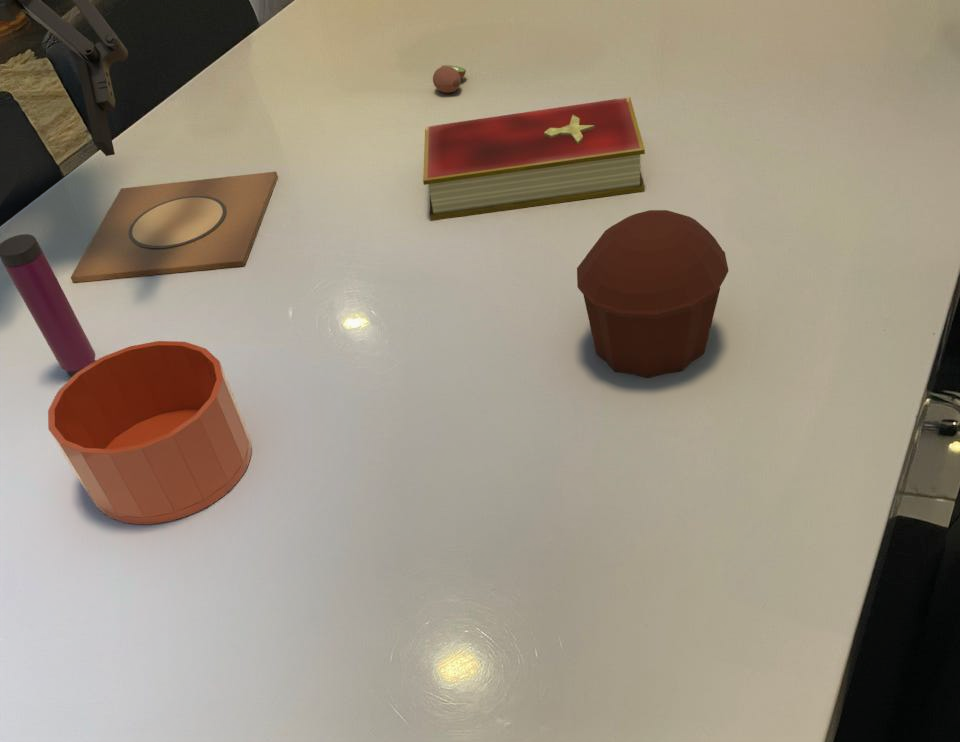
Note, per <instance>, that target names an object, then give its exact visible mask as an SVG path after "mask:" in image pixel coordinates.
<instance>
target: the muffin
mask: <svg viewBox="0 0 960 742" xmlns="http://www.w3.org/2000/svg"><path fill="white" fill-rule="evenodd" d="M728 273H729V266H728V261H727V255H726V252H725V250H723V248H722V247H721V245H720V244H719V242H718V241H717V239H716V238H715V236H713V235H712V233H711V232H710V231H709V230H708V229H707V228H706V227H704V226H703V225H702V224H701V223H700V222H698V220H697V219H695V218H693V217H691V216H689V215H685V214H682V213H678V212H675V211H671V210H667V209H648V210H646V211H641V212H638V213H634V214H630V215H629V216H627V217H625V218H623V219H622V220H620V221H618V222H616V223H615V224H613V225H612V226H609V227H608V228H607V229H606V230H604V232H603V233H602V234H601V235H600V236H599V238H598V240H597V241H596V242H595V244H594V245H593V246H592V247H591V249H590V250H589V251H588V253H587V254H586V256H585V257H584V258H583V259H582V260H581V262H580V263H579V265H577V267H576V280H577V281H576V282H577V283H576V284H577V288H578V290H579V291H580V292H581V293H582V296H583V299H584V300H583V301H584V304H585V308H586V313H587V317H588V322H589V327H590V330H591V331H590V332H591V336H592V340H593V344H594V345H593V346H594V349H595V353H596V355H597V356H598V357H599V358H601V359H602V360H603V361H604V362H606V363H607V364H608V365H609V367H610V368H611V369H612V370H613V371H614V372H617V373H624V374H631V375H635V376H639V377H642V378H646V379H647V378H652V377H656V376H660V375H665V374H669V373H678V372H683V371H684V370H685V369H686V368H687V367H688V366H689V365H690V364H691V363H692V362H693V361H695V360H697V359H698V358H700V357H701V356H704V354H705V352H706V347H707V345H708V340H709V336H710V332H711V328H712V325H713V319H714V316H715V311H716V308H717V304H718V299H719V295H720V291H721V286H722V285H723V283H724V281H725V279H726V277H727V275H728Z"/></svg>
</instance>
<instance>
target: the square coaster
mask: <svg viewBox="0 0 960 742" xmlns="http://www.w3.org/2000/svg"><path fill="white" fill-rule="evenodd" d="M278 177H279V175H278V172H277V171H268V172H259V173H249V174H240V175H231V176H223V177H214V178H213V177H211V178H203V179H195V180H186V181H177V182H176V181H175V182H168V183H161V184H160V183H159V184H150V185H149V184H148V185H139V186H130V187H121V188H120V189H119V191H118V193H117V194H116V197H115V198H114V200H113V202H112V203H111V206H110V207H109V208H108V211H106V214H105V216H104V218H103V219H102V221H101V223H100V225H99V226H98V228H97V230H96V232H95V234H93V237H92V239H91V240H90V242H89V244H88V246H87V247H86V249H85V250H84V253H83V255H82V256H81V258H80V260H79V262H78V264H77V265H76V267H75V268H74V271H73V272H72V274H71V276H70V280H71V281H72V283H84V282H93V281H94V282H95V281H102V280H103V281H104V280H115V279H116V280H117V279H125V278H135V277H136V278H137V277H144V276H145V277H146V276H147V277H148V276H155V275H156V276H157V275H167V274H176V273H177V274H178V273H189V272H197V271H208V270H217V269H220V270H221V269H229V268H238V267H239V268H240V267H245V266H246V264H247V261H248V259H249V257H250V254H251V251H252V248H253V245H254V242H255V240H256V237H257V234H258V232H259V229H260V226H261V224H262V221H263V218H264V215H265V213H266V210H267V207H268V205H269V201H270V199H271V196H272V194H273V192H274V188H275V186H276V183H277V181H278Z"/></svg>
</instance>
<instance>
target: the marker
mask: <svg viewBox="0 0 960 742" xmlns="http://www.w3.org/2000/svg"><path fill="white" fill-rule="evenodd" d="M0 260H1V262H2V264H3V266H4V268H5V270H6V271H7V273H8V275H9V277H10V279H11V281H12V283H13V284H14V286H15V288H16V290H17V292H18V293H19V295H20V297H21V298H22V300H23V302H24V304H25V305H26V308H27V310H28V311H29V313H30V315H31V317H32V319H33V320H34V322H35V324H36V326H37V327H38V329H39V331H40V332H41V335H42V336H43V338H44V340H45V342H46V344H47V345H48V347H49V349H50V350H51V353H52V354H53V356H54V358H55V360H56V361H57V363H58V365H59V367H60V368H61V369H62V370H63V371H65V372H66V373H67V375H68V376H69V377H70V378H72V377H73V376H74V375H75V374H76V373H77V372H79V371H80V370H82V369H83V368H85V367H87V366H88V365H90V364H91V363H93V362H95V361H96V360H95V359H96V352H95V350H94V348H93V346H92V344H91V342H90V340H89V338H88V336H87V334H86V333H85V331H84V329H83V327H82V324H81V323H80V321H79V319H78V317H77V315H76V314H75V311H74V310H73V307H72V305H71V304H70V302H69V300H68V298H67V296H66V294H65V292H64V290H63V288H62V286H61V284H60V282H59V280H58V278H57V276H56V274H55V273H54V270H53V269H52V267H51V265H50V263H49V261H48V259H47V257H46V255H45V253H44V252H43V249H42V248H41V245H40V244H39V242H38V239H37V238H36V237H35V235H32V234H28V233H23V234H17V235H14V236H11V237H9V238H6V239H5V240H3V241H2V242H0Z"/></svg>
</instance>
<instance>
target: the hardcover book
mask: <svg viewBox="0 0 960 742" xmlns="http://www.w3.org/2000/svg"><path fill="white" fill-rule="evenodd" d="M423 146H424V147H423V148H424V150H423V152H424V153H423V173H422V175H423V177H422V181H423V185H424V186H427V185H428V190H429V221H435V220H436V221H437V220H442V219H443V220H444V219H449V218H450V219H451V218H457V217H464V216H465V217H466V216H471V215H480V214H486V213H493V212H501V211H507V210H509V211H510V210H515V209H523V208H531V207H536V206H537V207H538V206H544V205H553V204H560V203H567V202H573V201H575V202H576V201H581V200H588V199H596V198H603V197H612V196H618V195H619V196H620V195H623V194H624V195H626V194H632V193H640V192H645V191H646V190H645V189H646V187H645V183H644V178H643V176H642V172H641V171H642V170H641V155H645V154H646V150H645V145H644V142H643V138H642V135H641V131H640V128H639V124H638V120H637V117H636V113H635V109H634V106H633V102H632V99H631V96H628V97H621V98H613V99H607V100H600V101H593V102H586V103H580V104H573V105H566V106H565V105H564V106H559V107H553V108H546V109H539V110H538V109H537V110H531V111H525V112H517V113H511V114H504V115H497V116H491V117H489V116H488V117H483V118H476V119H469V120H461V121H457V122H449V123H442V124H441V123H440V124H435V125H429V126H425V127H424V145H423Z"/></svg>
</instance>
